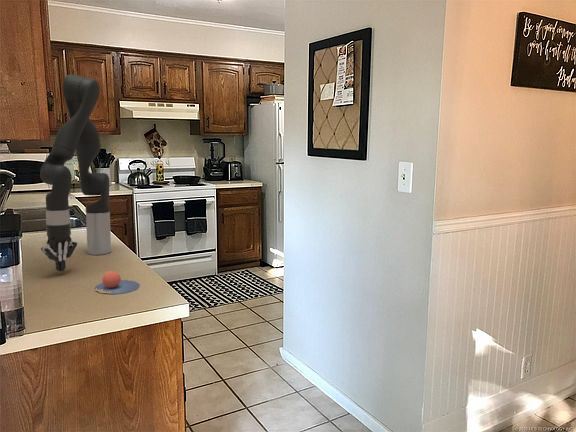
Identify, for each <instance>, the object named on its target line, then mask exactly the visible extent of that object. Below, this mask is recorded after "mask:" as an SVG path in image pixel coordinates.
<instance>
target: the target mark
mask: <svg viewBox="0 0 576 432" xmlns="http://www.w3.org/2000/svg"><path fill="white" fill-rule="evenodd" d="M139 286H141V285H140V283H139V282H136V281H134V280H129V279H128V280H126V279H121V281H120V283H119V285H118V286H117V287H115V288H107V287H106V286H105V285H104V284H103V282H102V283H98V284H97V285H95V286H94V289H96V288H97V289H98V290H99V289H100V290H101V289H103V291H106V292H107V291H108V292H109V291H111V292H112V294H111V295H121V294H120V293H123V294H127V292H128V293H131V292H130V291H132V292H134V291H137V290H138V289H139V288H140V287H139ZM138 287H139V288H138ZM137 288H138V289H137ZM94 289H93V290H94ZM133 290H134V291H133ZM111 292H110V293H111ZM113 293H114V294H113Z"/></svg>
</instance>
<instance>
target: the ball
mask: <svg viewBox="0 0 576 432" xmlns="http://www.w3.org/2000/svg"><path fill="white" fill-rule="evenodd" d="M121 280H122V279H121V276H120V273H118V272H117V271H116V270H115V271H114V270H109V271H106V272H105V273H104V274H103V276H102V283H103V284H104V285H105V286H106V287H107V288H115V287H117V286H118V285H119V283H120V281H121Z"/></svg>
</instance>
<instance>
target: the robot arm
mask: <svg viewBox="0 0 576 432" xmlns="http://www.w3.org/2000/svg"><path fill="white" fill-rule="evenodd" d="M100 91H101V87H100V84H99V82H98V80H96V79H95V78H92V77H86V76H82V75H78V74H77V75H76V74H67V75H65V77H64V79H63V81H62V93H63V97H64V102H65V104H66V108H67V112H68V115H69V120H67V121H66V122H65V123H64V124H63V125H62V126H61V127H60V128H59V130H58V131H57V133H56V135H55V139H54V142H53V144H52V149H51V151H50V152H49V153H48V155H47V156H46V158H45V160H44V161H43V163H42V165H41V167H40V172H39V176H40V180H41V181H42V182H43V183H44V184H46V185H51V191H50V192H48V193H47V194H46V195H45V209H46V210H45V224H46V225H45V226H46V227H45V229H46V236H47V241H46V245H45V246H44V247H41V248H40V251H41V252H43V254H44V255H45V256H46V257H47V258H48V259H49V260H51V261H54V262H55V270H57V272H64V271H65V269H66V260H67V259H68V258H71V256H72V255H73V252H74V251H75V249H76V248H77V245H78V242H76V241H73V240H72V237H71V234H72V231H71V229H72V228H71V215H70V209H69V195H70V193H71V186H72V181H73V180H72V179H73V178H72V173H71V171H70V169H69V167H67V166H66V165H65V164H66V163H67V162H68V161H71V160H72V159H73V158H74V156H75V154H76V159H77V163H78V164H77V165H78V173H79V174H78V175H79V184H80V189H81V193H82V195H84V196H91V197H94V196H98V197H99V196H100V198H99V199H98V200H97V201H94V202H92V203H89V204H87V205H86V206H85V223H86V225H85V226H86V247H87V250H86V251H87V254H88V255H92V256H96V255H97V256H98V255H99V256H101V255H106V254H110V253H111V252H112V242H111V241H112V240H111V239H112V237H111V235H112V233H111V212H110V211H111V210H110V208H111V207H110V176H109V174H107V173H105V172H89V170H90V167H91V165H92V164H93V162H94V160H95V159H96V157H97V156H98V155H99V153H100V151H101V149H102V148H101V146H102V145H101V135H100V132H99V130H98V128H97V126H96V125H95V123H94V122H93V121H92V119H91V118H90V117H91V115H92V113H93V110H94V109H95V106H96V105H97V102H98V101H99V97H100Z"/></svg>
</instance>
